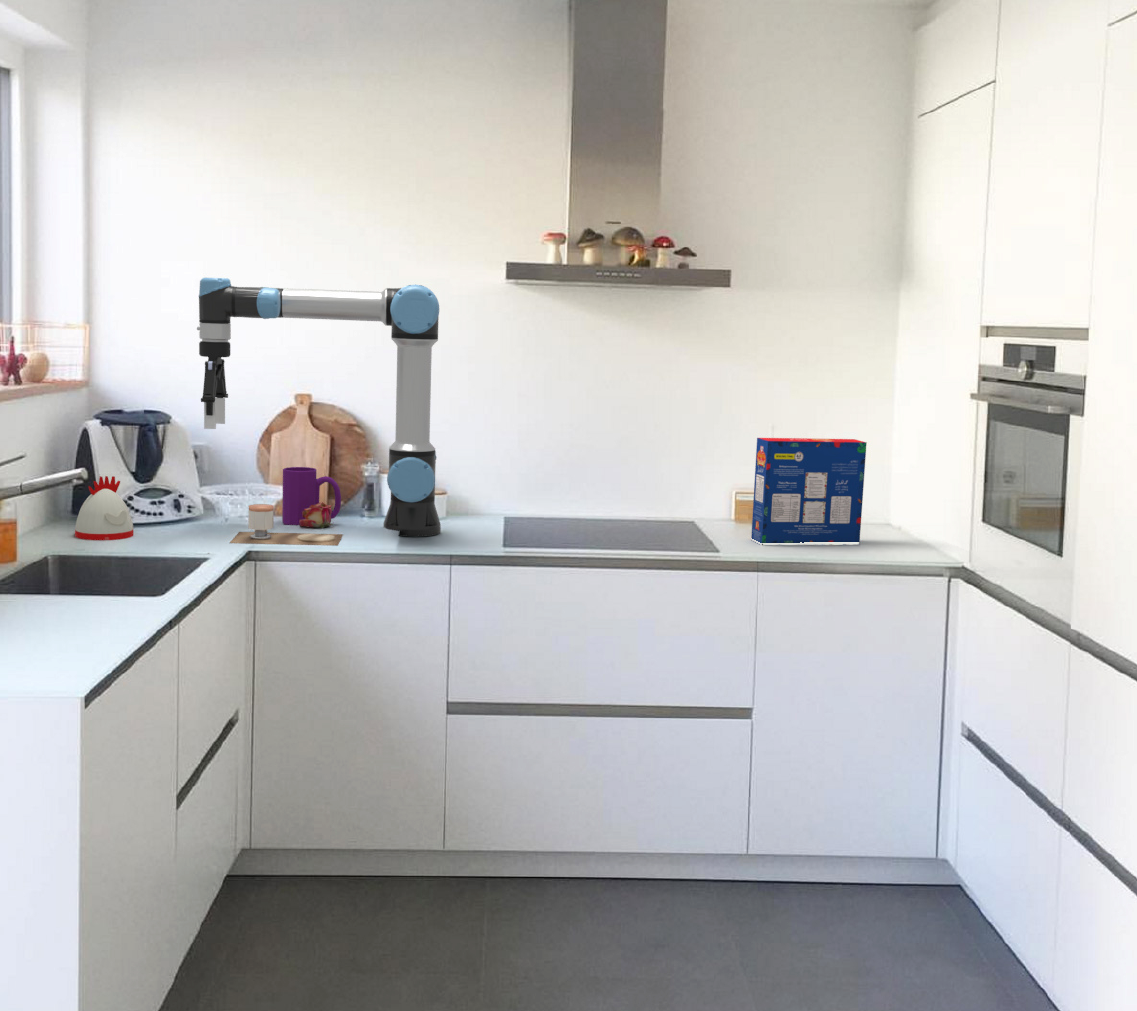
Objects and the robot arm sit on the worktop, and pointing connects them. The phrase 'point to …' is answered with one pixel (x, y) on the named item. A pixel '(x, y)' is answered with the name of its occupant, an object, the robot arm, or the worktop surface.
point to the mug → (304, 493)
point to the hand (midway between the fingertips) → (214, 426)
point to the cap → (261, 517)
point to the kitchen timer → (104, 514)
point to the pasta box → (808, 490)
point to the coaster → (316, 537)
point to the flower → (317, 516)
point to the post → (260, 535)
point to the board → (282, 539)
